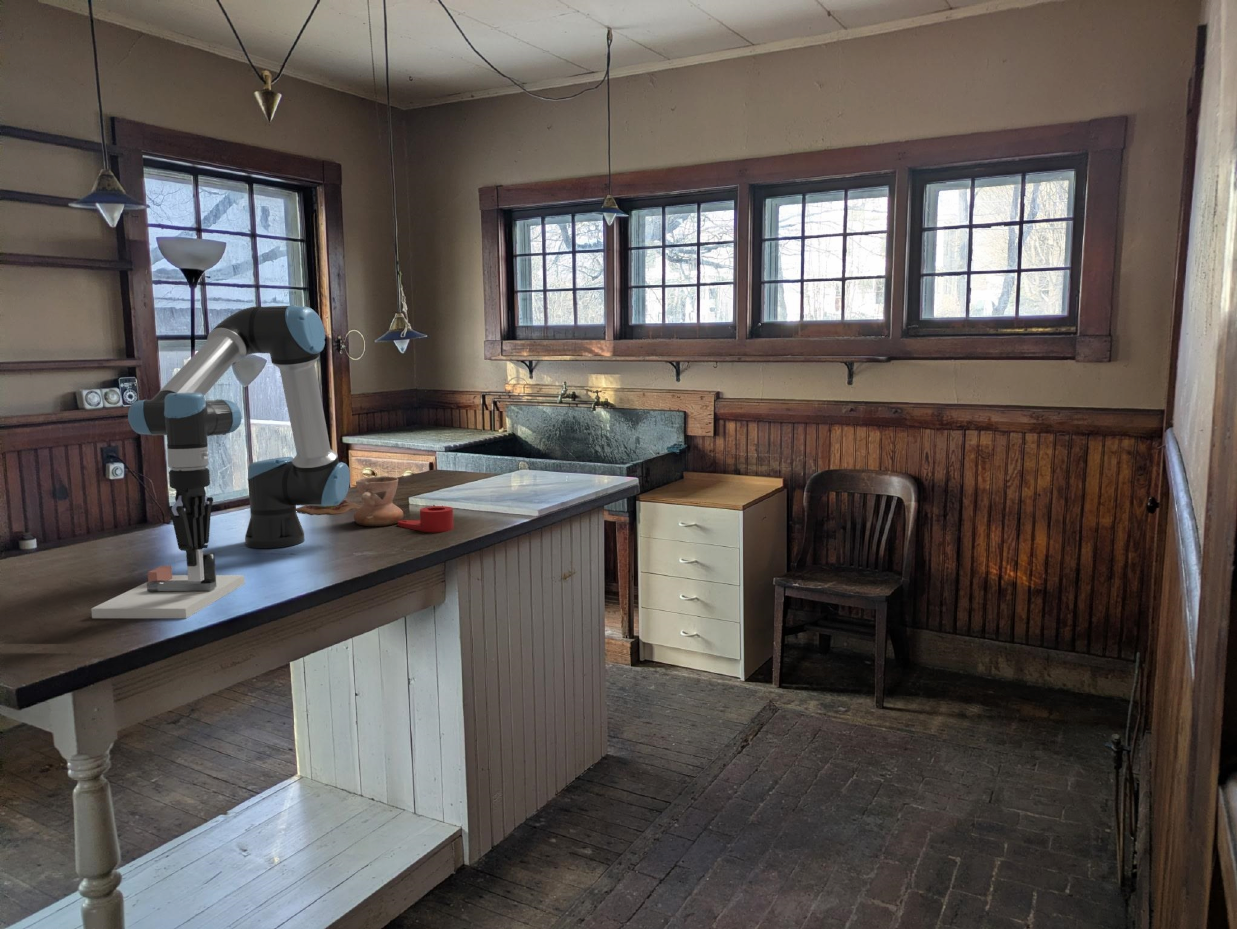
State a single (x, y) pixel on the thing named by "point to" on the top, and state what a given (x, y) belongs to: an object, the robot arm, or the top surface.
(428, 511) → the lever
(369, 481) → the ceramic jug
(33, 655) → the top surface
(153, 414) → the robot arm
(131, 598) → the board
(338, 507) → the plant
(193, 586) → the swing bar
